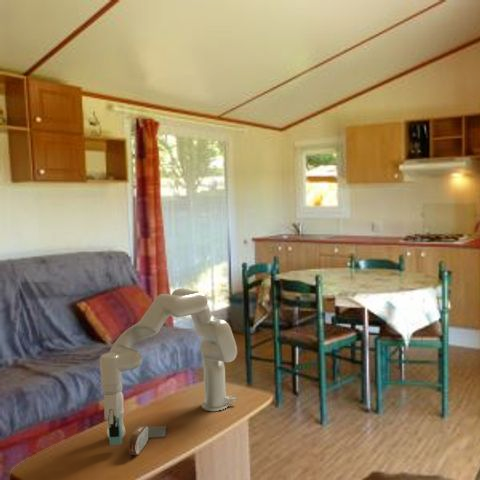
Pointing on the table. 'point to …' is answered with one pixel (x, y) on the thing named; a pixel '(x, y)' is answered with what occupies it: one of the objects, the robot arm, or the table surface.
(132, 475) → the table surface
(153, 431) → the mat
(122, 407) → the water bottle
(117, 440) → the stick
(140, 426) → the tin
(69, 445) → the table surface
